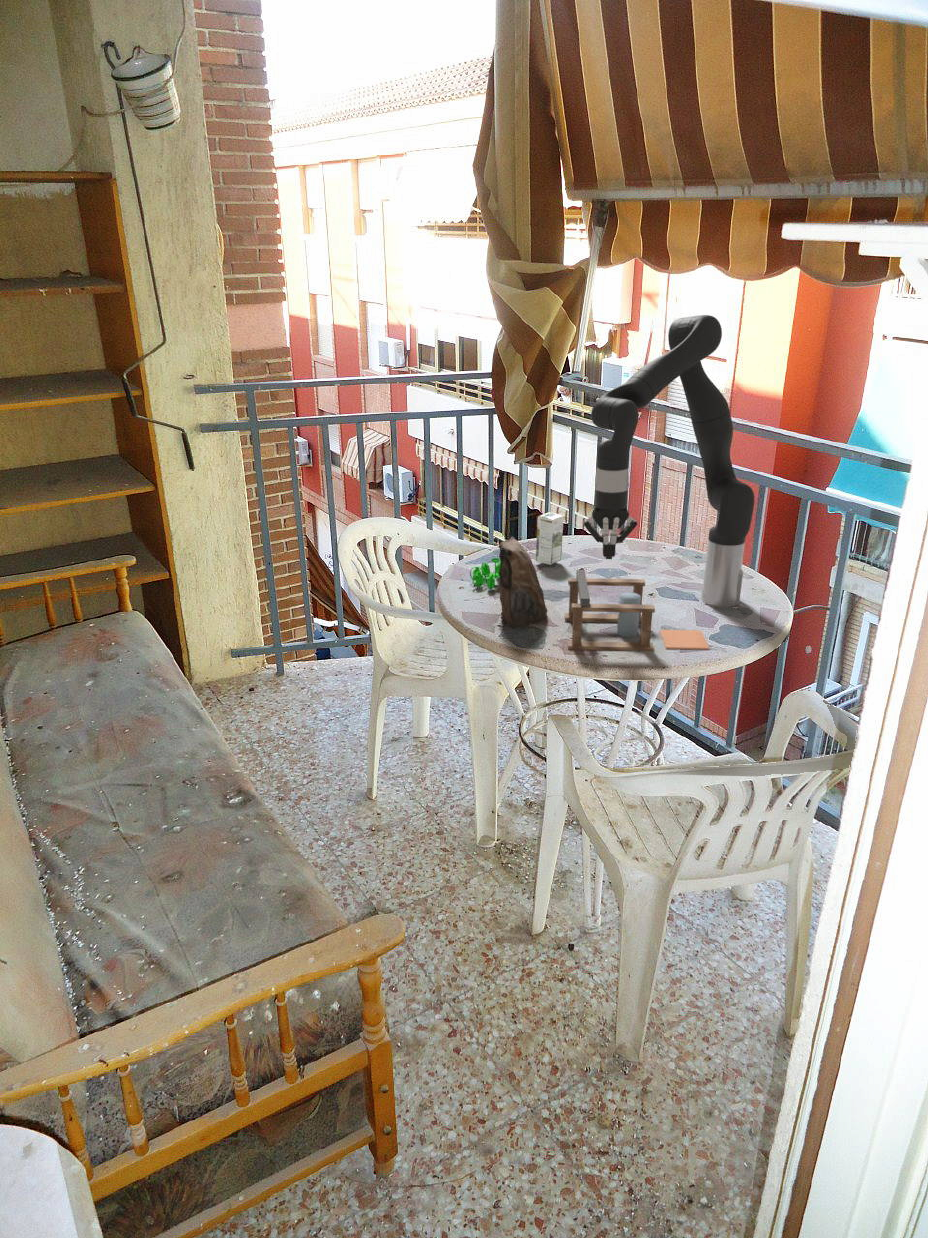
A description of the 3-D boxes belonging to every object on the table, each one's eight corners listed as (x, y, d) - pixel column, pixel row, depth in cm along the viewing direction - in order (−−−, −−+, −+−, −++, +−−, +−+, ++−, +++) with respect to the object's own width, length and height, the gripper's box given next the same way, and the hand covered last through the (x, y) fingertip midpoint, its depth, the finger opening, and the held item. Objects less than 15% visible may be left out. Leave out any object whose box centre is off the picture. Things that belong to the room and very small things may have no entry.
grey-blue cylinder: (636, 629, 212) (639, 592, 208) (638, 638, 207) (642, 600, 203) (616, 629, 212) (618, 592, 208) (618, 637, 208) (620, 599, 204)
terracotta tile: (700, 633, 209) (701, 630, 209) (708, 651, 200) (709, 647, 200) (659, 632, 210) (659, 629, 210) (665, 650, 201) (666, 647, 201)
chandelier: (526, 575, 249) (526, 553, 246) (515, 593, 236) (515, 570, 233) (476, 571, 252) (476, 549, 250) (463, 589, 239) (463, 566, 236)
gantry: (642, 618, 219) (646, 578, 214) (653, 651, 200) (657, 609, 196) (564, 616, 220) (566, 577, 216) (568, 649, 202) (570, 607, 197)
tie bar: (584, 577, 215) (584, 570, 214) (589, 606, 197) (589, 598, 196) (576, 577, 215) (576, 569, 214) (580, 606, 197) (581, 598, 196)
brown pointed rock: (513, 631, 212) (514, 554, 204) (480, 615, 221) (480, 542, 213) (549, 618, 219) (552, 544, 211) (517, 604, 228) (518, 532, 220)
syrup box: (546, 556, 263) (547, 511, 257) (562, 560, 260) (563, 514, 254) (535, 561, 259) (536, 515, 253) (551, 565, 256) (553, 519, 250)
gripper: (638, 482, 198) (634, 552, 205) (581, 482, 199) (579, 553, 206) (642, 490, 191) (638, 563, 198) (583, 491, 192) (581, 563, 199)
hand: (608, 558), depth 202 cm, fingers closed
